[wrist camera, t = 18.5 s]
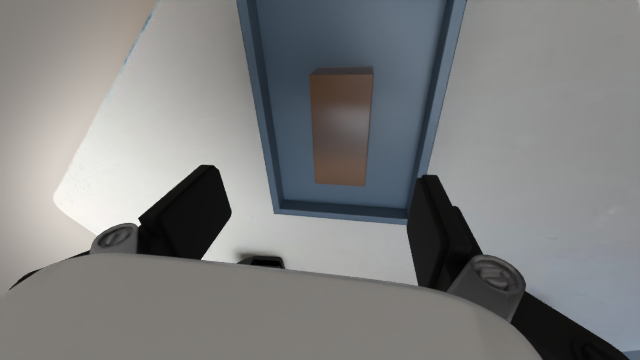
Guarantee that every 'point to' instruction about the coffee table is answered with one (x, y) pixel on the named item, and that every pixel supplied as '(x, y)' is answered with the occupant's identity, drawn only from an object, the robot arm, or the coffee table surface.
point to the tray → (387, 96)
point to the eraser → (341, 123)
